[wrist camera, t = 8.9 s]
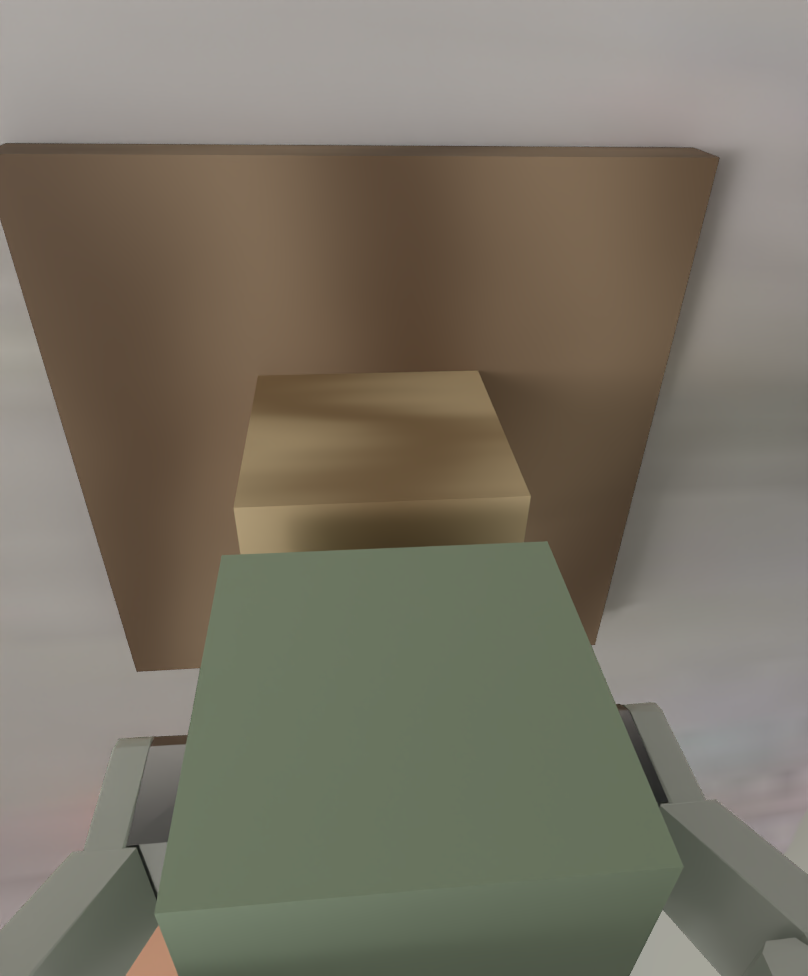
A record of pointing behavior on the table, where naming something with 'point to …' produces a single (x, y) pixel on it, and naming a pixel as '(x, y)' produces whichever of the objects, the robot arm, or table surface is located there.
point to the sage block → (408, 776)
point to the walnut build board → (349, 350)
